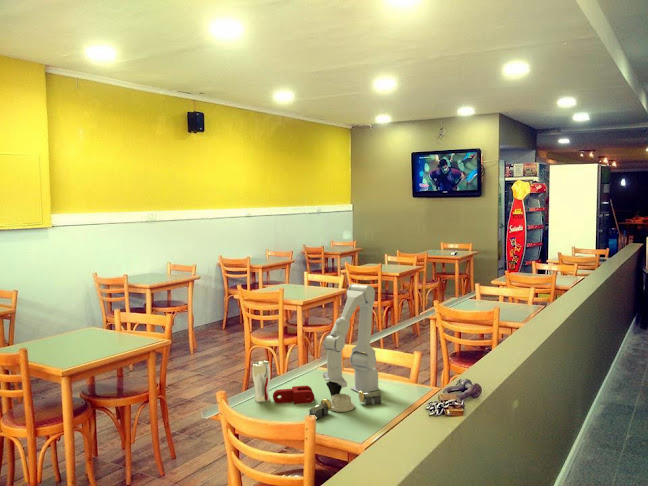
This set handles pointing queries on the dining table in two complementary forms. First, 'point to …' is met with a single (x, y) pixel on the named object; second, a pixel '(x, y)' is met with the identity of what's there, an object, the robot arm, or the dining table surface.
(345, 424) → the dining table surface
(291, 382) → the dining table surface
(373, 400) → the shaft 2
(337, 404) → the mechanical component
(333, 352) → the robot arm
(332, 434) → the dining table surface
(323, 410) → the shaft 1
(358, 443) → the dining table surface
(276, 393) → the mechanical linkage
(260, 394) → the beer glass
